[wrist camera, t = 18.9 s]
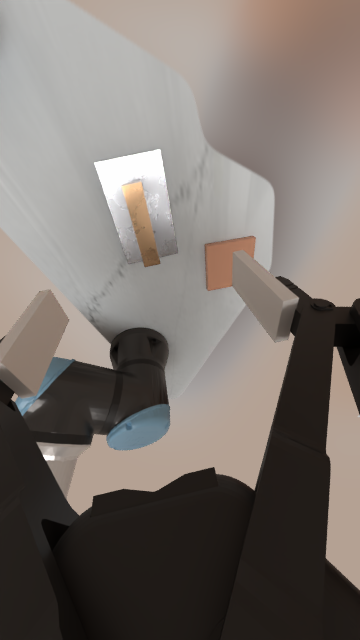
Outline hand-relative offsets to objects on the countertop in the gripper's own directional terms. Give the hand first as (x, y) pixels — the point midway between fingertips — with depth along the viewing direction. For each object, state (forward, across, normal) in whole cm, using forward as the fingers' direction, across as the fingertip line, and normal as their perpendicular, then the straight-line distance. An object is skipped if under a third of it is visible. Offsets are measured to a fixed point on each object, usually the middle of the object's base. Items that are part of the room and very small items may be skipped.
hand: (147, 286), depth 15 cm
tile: (+26, -16, +8) cm, 31 cm away
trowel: (+27, 0, 0) cm, 27 cm away
